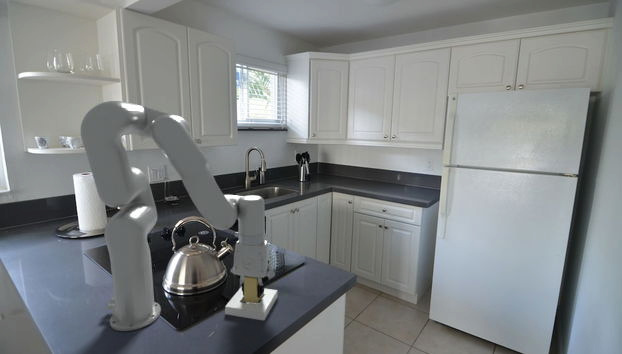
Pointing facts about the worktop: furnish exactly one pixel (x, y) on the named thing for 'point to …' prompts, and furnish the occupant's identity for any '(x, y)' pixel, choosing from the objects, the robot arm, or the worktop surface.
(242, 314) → the socket housing
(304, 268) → the worktop surface
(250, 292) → the plug block
